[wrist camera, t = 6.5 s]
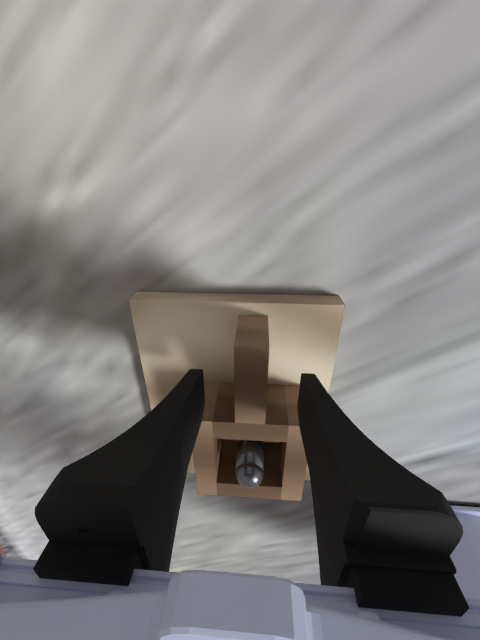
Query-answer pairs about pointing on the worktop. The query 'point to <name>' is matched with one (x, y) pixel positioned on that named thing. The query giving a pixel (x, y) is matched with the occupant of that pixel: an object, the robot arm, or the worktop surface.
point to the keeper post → (249, 463)
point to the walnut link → (250, 423)
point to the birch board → (232, 337)
